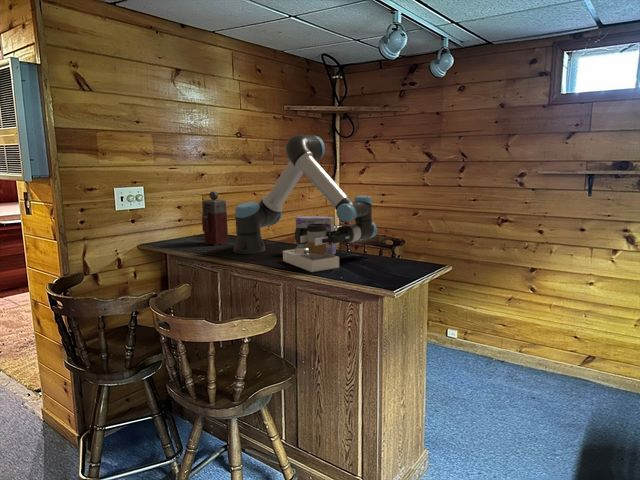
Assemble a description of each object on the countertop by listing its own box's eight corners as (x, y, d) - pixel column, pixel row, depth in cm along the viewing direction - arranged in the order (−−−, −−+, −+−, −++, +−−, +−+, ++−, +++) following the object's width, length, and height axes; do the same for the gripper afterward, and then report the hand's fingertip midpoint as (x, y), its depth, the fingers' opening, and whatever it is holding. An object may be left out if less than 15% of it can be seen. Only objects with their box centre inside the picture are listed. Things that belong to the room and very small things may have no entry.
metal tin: (292, 259, 210) (292, 247, 209) (306, 257, 213) (305, 246, 212) (300, 261, 204) (299, 250, 203) (314, 259, 207) (313, 248, 206)
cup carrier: (283, 260, 211) (282, 250, 210) (308, 257, 217) (308, 247, 217) (311, 272, 190) (311, 260, 189) (339, 267, 196) (339, 256, 195)
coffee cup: (318, 257, 204) (317, 222, 201) (331, 260, 197) (330, 224, 195) (303, 260, 199) (302, 224, 196) (315, 263, 192) (314, 226, 190)
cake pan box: (294, 253, 226) (293, 216, 223) (299, 251, 231) (298, 215, 228) (332, 256, 218) (331, 217, 215) (336, 254, 223) (335, 216, 220)
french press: (201, 245, 253) (197, 192, 248) (216, 241, 263) (213, 190, 258) (214, 246, 249) (210, 192, 244) (228, 242, 258) (225, 190, 253)
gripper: (365, 245, 201) (325, 253, 186) (331, 239, 217) (292, 246, 202) (365, 227, 200) (325, 234, 185) (331, 223, 215) (291, 229, 201)
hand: (308, 240), depth 193 cm, fingers closed on coffee cup, 8 cm apart
